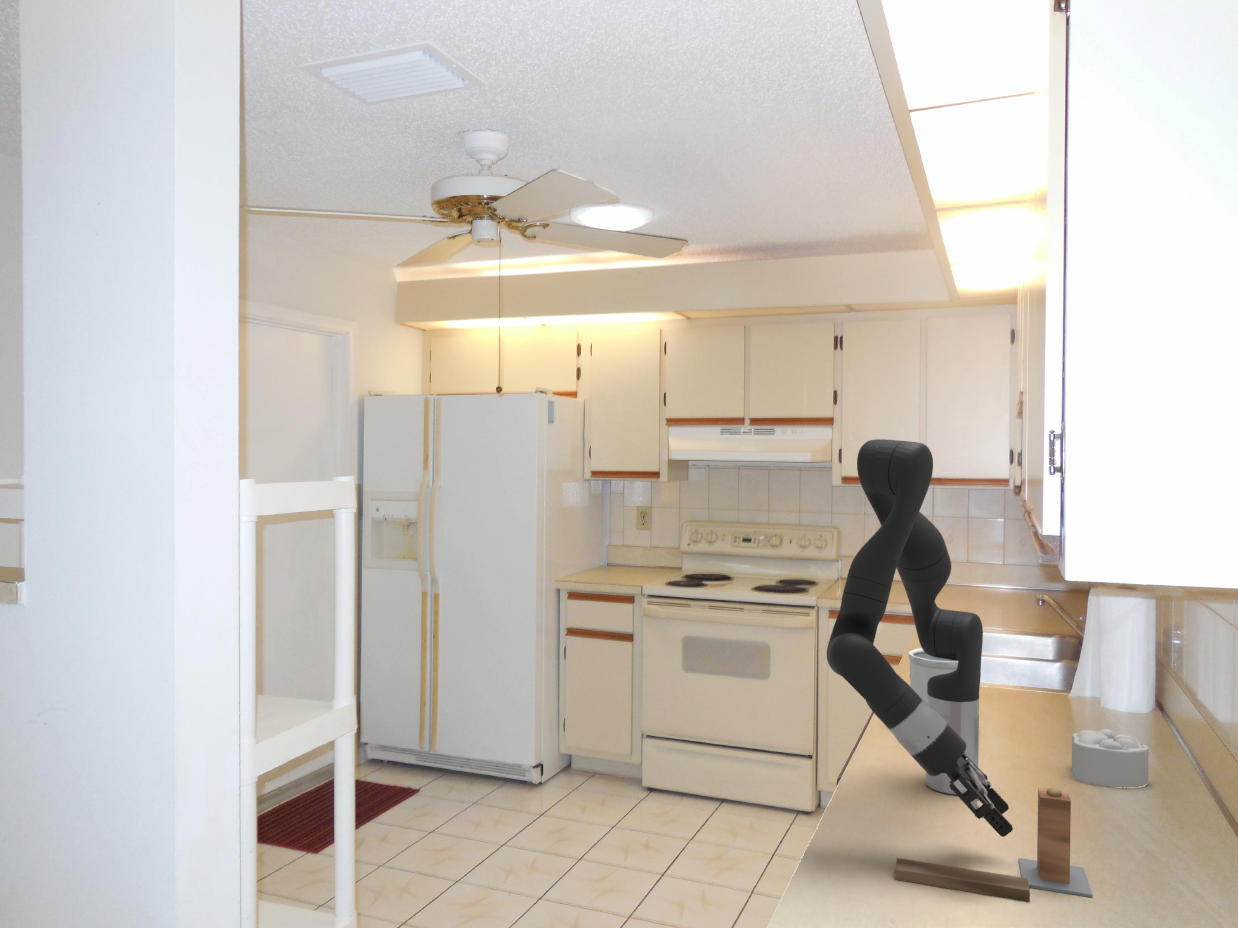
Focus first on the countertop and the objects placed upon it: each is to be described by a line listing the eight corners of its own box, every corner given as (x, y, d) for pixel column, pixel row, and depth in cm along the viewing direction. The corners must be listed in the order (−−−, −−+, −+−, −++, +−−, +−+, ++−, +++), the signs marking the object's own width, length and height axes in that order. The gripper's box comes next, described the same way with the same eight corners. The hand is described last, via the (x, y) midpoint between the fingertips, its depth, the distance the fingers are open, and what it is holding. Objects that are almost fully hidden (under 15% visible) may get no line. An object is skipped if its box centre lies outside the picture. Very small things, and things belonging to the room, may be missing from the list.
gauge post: (1037, 866, 135) (1038, 783, 135) (1066, 871, 134) (1067, 787, 134) (1039, 878, 131) (1040, 792, 131) (1069, 883, 130) (1070, 796, 130)
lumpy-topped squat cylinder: (1071, 765, 182) (1071, 722, 182) (1144, 775, 177) (1145, 731, 177) (1073, 782, 173) (1074, 737, 172) (1151, 793, 167) (1152, 747, 167)
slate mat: (1018, 860, 138) (1018, 857, 138) (1083, 869, 135) (1083, 867, 135) (1023, 886, 130) (1023, 883, 130) (1092, 897, 127) (1092, 894, 127)
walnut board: (896, 867, 135) (896, 857, 135) (1027, 888, 129) (1027, 877, 129) (895, 879, 132) (895, 868, 132) (1029, 901, 125) (1029, 890, 125)
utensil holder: (907, 736, 200) (908, 657, 200) (907, 718, 214) (908, 644, 214) (978, 743, 195) (979, 663, 195) (974, 724, 210) (975, 649, 209)
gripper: (945, 734, 131) (1030, 824, 127) (945, 709, 144) (1021, 790, 141) (907, 766, 133) (989, 855, 129) (910, 738, 146) (984, 818, 142)
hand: (1006, 821), depth 135 cm, fingers open, 8 cm apart
